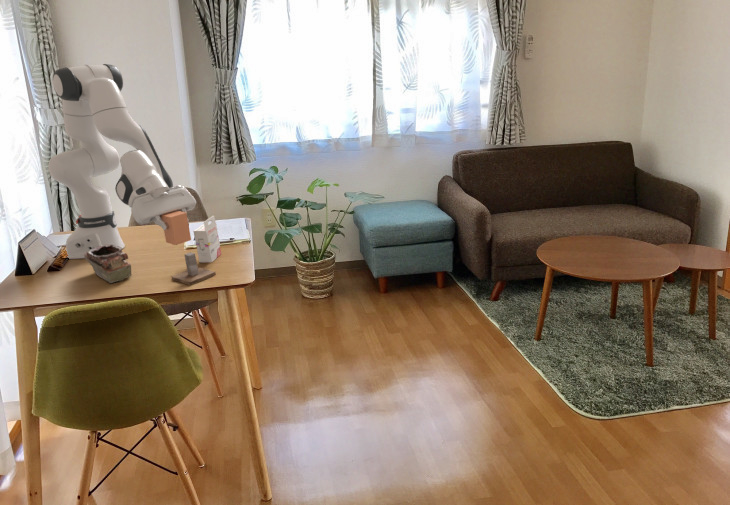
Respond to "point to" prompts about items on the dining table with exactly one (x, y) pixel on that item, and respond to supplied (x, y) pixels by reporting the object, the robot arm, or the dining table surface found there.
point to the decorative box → (109, 262)
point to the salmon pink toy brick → (176, 227)
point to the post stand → (192, 271)
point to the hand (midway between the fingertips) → (176, 225)
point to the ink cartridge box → (207, 241)
